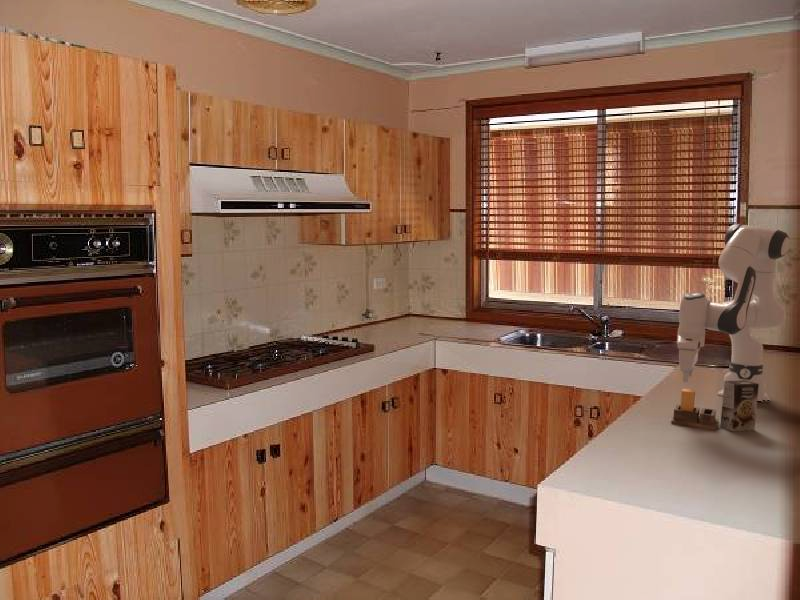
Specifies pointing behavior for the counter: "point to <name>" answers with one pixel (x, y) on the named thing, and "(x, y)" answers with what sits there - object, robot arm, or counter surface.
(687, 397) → the square peg
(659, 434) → the counter surface
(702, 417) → the socket holder
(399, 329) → the counter surface
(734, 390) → the coffee box
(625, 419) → the counter surface
